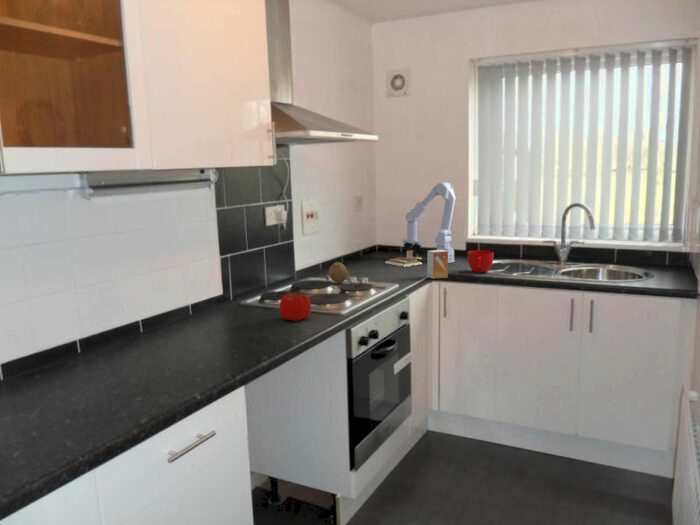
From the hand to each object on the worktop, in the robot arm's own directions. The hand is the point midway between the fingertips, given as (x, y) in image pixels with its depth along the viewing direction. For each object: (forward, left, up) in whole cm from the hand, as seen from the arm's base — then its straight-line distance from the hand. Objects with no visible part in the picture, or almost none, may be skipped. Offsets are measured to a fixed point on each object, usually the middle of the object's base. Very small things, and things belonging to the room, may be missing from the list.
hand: (412, 256), depth 334 cm
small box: (-48, +28, -2) cm, 56 cm away
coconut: (-28, +73, -2) cm, 78 cm away
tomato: (-70, +122, -2) cm, 141 cm away
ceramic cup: (-53, +3, -2) cm, 53 cm away
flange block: (0, 0, -2) cm, 2 cm away
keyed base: (-8, +14, -2) cm, 16 cm away
